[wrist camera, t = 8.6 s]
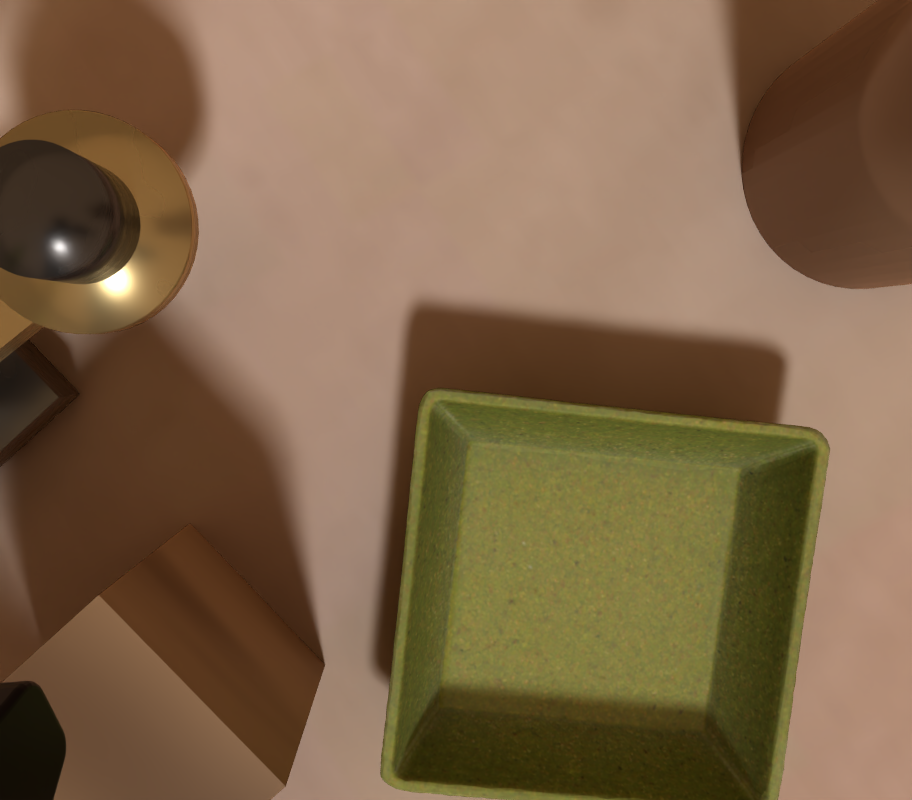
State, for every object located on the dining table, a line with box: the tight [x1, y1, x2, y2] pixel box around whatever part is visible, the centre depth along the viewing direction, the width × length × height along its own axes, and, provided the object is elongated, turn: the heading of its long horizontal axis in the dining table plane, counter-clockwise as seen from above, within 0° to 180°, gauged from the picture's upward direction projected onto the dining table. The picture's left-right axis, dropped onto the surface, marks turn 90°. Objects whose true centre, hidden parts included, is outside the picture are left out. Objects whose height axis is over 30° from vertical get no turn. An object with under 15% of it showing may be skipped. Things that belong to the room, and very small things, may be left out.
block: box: [2, 524, 325, 800], centre depth 16 cm, size 4×4×5 cm
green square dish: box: [380, 388, 830, 800], centre depth 18 cm, size 9×9×2 cm
